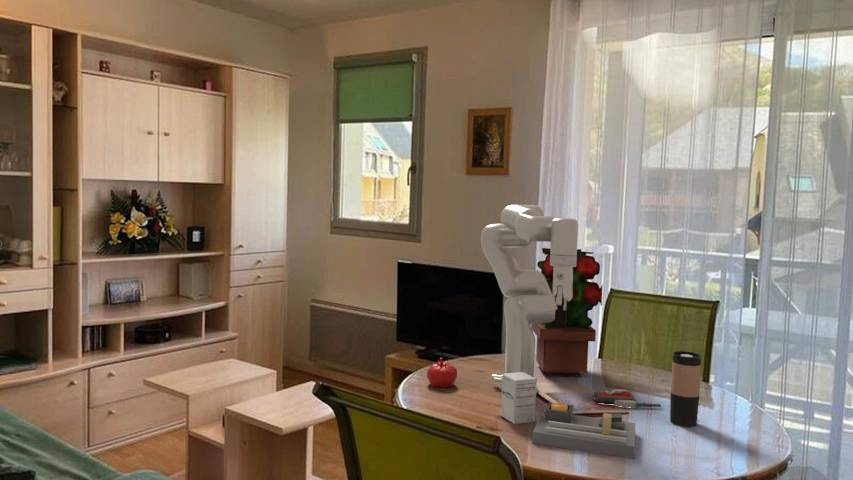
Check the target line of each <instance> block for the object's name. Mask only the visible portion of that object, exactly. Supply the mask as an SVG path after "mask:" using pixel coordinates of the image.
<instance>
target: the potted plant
mask: <svg viewBox="0 0 853 480" xmlns="http://www.w3.org/2000/svg"><path fill="white" fill-rule="evenodd" d="M550 249H551V248H546V247H541V251H542V254H544V255H545V259H544V260H539V261H538V262H537V263H536V265H537V267H538V269H540V270H541V271H540V272H541V273H542V274H543V275H544V276H545V278H546V280H547V283H548V285H549V287H550V290H551V292H552V294H553V270H554V266H550ZM587 254H589V255H587ZM592 254H593V255H594V252H593V251H592V252H591V251H582V248H577V262H576V267H573V297H572V299H571V300H570V301H569V302H568V301H567V309H566V310H567V322H566V324H565V325H563V324H555V320H554V321H552V322H550V323H537V324H531V331H532V332H533V334H534V335H536V351H535V352H536V356H535V361H536V362H537V364H538V365H539V367H540V368H541V370H542V372H544V373H545V374H546V375H547V376H559V377H563V376H564V377H581V373H585V374H586V373H588V362H589V361H588V360H589V359H588V358H589V356H588V355H589V342H596V337H597V336H596V334H597V330H596V329H595V328H593V327H592V325H593V319H592V318H591V317H589V311H592V310H593V309H594V307H596V306H597V305H598V304H600V306H601V307H602V306H603V303H602V302H603V284H601V286H600V285H599V284H598V283H597V282H595V281H591V280H593V279H594V278H595V276H598V275H599V274H600V273H601V265H600V263H599V262H598V261H596V259H595V257H594V256H593V255H592ZM588 280H589V281H588ZM555 302H556V300H555Z"/></svg>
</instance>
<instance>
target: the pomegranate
mask: <svg viewBox="0 0 853 480" xmlns="http://www.w3.org/2000/svg"><path fill="white" fill-rule="evenodd" d="M443 360H444V359H443V358H442V357H440V358H439V360H438V361H436V362H432V364H431V366H429V368H428V370H427V373H426V376H427V379H428V381H429V384H430V385H431V386H432V387H435V388H449V387H452V386H453V385H454V384H455V382H456V380H457V377H458V370H457V368H456V367H455V366H454V365H453V363H450V362H449V361H447V360H446V361H443Z"/></svg>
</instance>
